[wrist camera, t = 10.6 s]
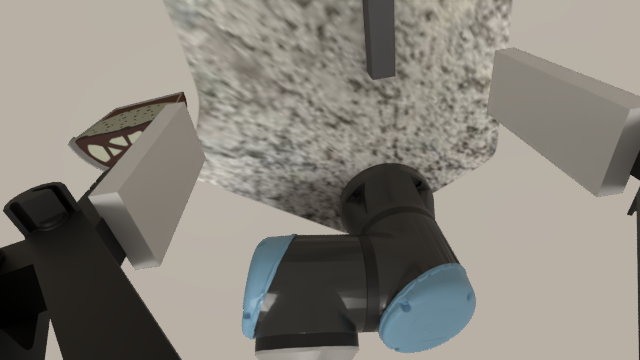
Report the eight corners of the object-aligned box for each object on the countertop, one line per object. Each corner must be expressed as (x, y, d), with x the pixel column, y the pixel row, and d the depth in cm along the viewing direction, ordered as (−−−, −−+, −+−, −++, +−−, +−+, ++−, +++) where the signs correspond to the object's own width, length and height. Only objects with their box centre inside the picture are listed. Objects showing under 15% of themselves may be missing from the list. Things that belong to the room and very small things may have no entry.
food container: (129, 150, 48) (95, 190, 40) (105, 110, 45) (62, 145, 36) (212, 130, 47) (196, 167, 39) (194, 88, 44) (171, 118, 36)
